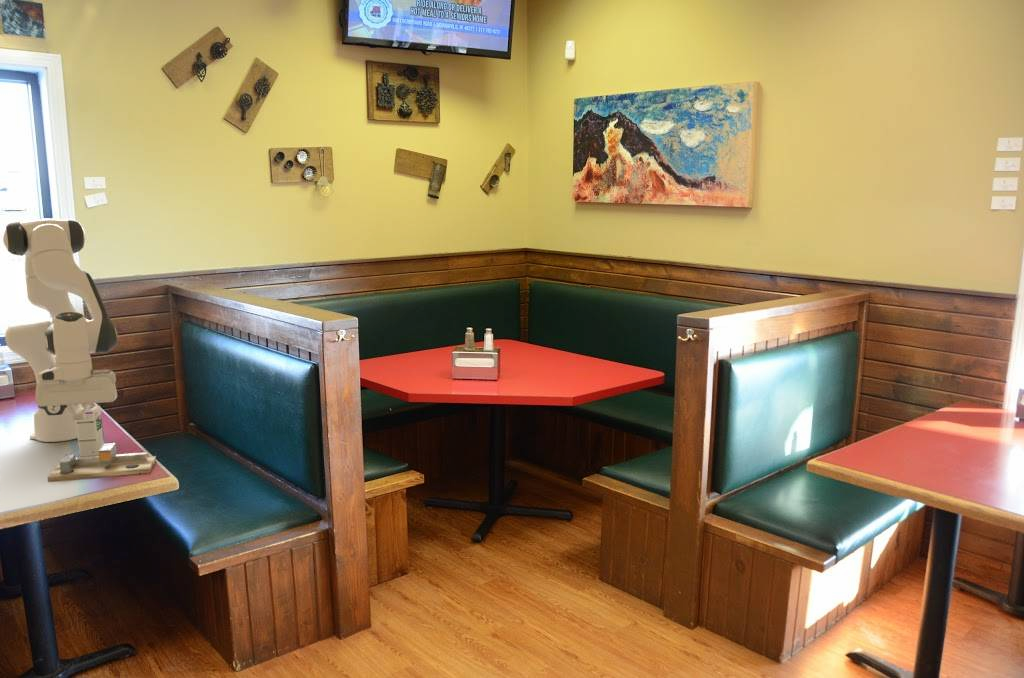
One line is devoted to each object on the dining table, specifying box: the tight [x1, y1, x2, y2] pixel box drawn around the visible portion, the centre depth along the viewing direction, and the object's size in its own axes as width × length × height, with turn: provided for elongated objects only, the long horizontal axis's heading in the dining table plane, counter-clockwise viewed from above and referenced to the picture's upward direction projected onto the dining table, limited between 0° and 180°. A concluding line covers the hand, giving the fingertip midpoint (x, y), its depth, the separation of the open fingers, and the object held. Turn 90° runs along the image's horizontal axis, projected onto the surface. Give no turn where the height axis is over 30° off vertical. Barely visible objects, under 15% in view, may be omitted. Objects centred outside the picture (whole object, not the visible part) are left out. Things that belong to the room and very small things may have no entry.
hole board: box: [47, 455, 157, 482], centre depth 235 cm, size 12×26×1 cm, turn 105°
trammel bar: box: [59, 451, 148, 474], centre depth 235 cm, size 8×22×3 cm, turn 105°
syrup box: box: [75, 404, 106, 457], centre depth 249 cm, size 6×6×14 cm
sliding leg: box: [99, 442, 117, 468], centre depth 234 cm, size 7×3×6 cm, turn 15°
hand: (79, 419), depth 230 cm, fingers closed
